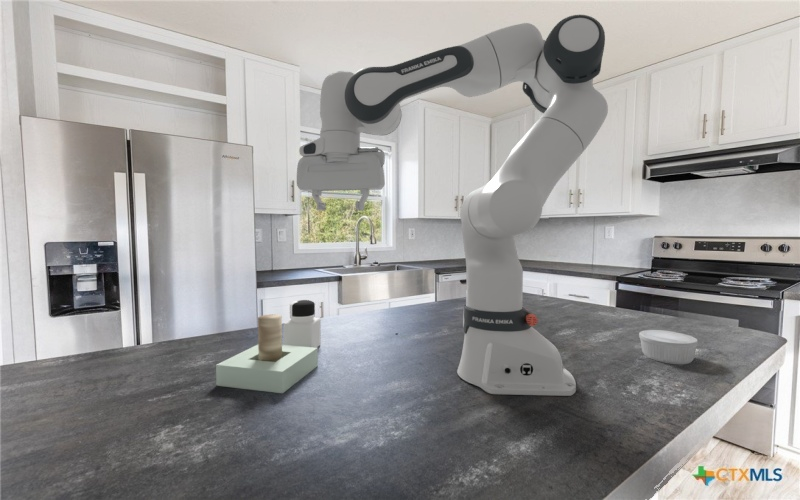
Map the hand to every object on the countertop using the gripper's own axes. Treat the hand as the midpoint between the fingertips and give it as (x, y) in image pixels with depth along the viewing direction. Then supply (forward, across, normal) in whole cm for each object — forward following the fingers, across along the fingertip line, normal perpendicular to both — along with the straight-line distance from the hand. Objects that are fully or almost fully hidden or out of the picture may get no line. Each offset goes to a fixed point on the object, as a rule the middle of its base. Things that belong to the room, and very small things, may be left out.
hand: (340, 210), depth 83 cm
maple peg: (+34, +10, +13) cm, 38 cm away
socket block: (+34, +10, +13) cm, 38 cm away
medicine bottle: (+34, +12, -4) cm, 37 cm away
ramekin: (+34, -74, -19) cm, 84 cm away
